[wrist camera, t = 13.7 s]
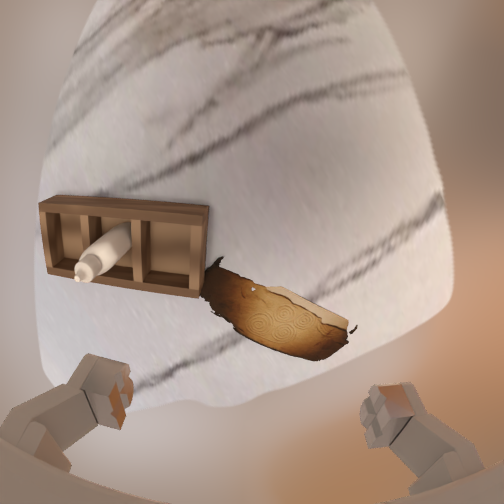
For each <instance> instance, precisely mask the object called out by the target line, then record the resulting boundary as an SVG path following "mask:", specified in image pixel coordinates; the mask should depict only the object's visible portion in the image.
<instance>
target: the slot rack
mask: <svg viewBox="0 0 504 504" xmlns="http://www.w3.org/2000/svg"><path fill="white" fill-rule="evenodd" d="M38 204H39V215H40V225H41V234H42V241H43V248H44V255H45V261H46V267H47V272H48V274H51V275H56V276H61V277H66V278H72V279H74V277H75V275H76V274H75V270H74V268H75V265H76V264H77V263H78V262H79V259H80V257H81V255H82V253H83V252H84V251H85V250H86V249H87V248H88V247H89V246H90V245H92V244H93V243H94V242H95V241H97V240H98V239H99V238H100V237H102V236H103V235H104V234H106V233H107V232H108V231H109V230H111V229H112V228H113V227H115V226H117V225H119V224H122V223H126V222H131V238H132V247H131V248H130V249H129V250H128V251H127V252H126V253H125V254H124V255H123V256H122V257H121V258H120V259H119V260H118V261H117V262H116V264H115V265H114V266H113V267H112V268H110V269H109V270H108V271H107V272H105V273H103V274H101V275H97V276H96V277H95V278H94V279H93V280H92V281H91V282H93V283H99V284H105V285H111V286H117V287H123V288H129V289H135V290H142V291H148V292H155V293H162V294H169V295H176V296H183V297H191V298H198V299H199V296H200V293H201V290H202V287H203V284H204V275H205V258H206V242H207V226H208V212H209V206H205V205H195V204H184V203H173V202H161V201H149V200H136V199H121V198H106V197H89V196H69V195H55V196H53V197H51V198H48V199H46V200H44V201H42V202H39V203H38Z"/></svg>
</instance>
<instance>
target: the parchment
mask: <svg viewBox="0 0 504 504" xmlns="http://www.w3.org/2000/svg"><path fill="white" fill-rule="evenodd" d="M223 258H224V257H221V258H219V259H218V260H217V261H215V262H214V264H213V265H212V267H210V268H208V269H207V270H206V271H205V275H204V284H203V287H202V290H201V293H200V295H201V296H200V297H202V298H204V299H205V301H208V302H210V303H209V304H210V306H211V308H212V309H213V311H215V313H214V314H215V315H217V316H219V317H223V318H224V319H225V320H226V321H227V322H229V323H232V324H233V326H234V327H235V328H234V327H233V329H234V330H235V331H236V332H238V333H239V334H241V335H243V336H245V337H246V338H248V339H250V340H252V341H254V342H256V343H258V344H260V345H263V346H265V347H267V348H270V349H272V350H275V351H279V352H281V353H284V354H287V355H290V356H294V357H299V358H303V359H307V360H310V361H318V360H319V361H320V360H324V359H326V358H328V357H330V356H331V355H332V354H333V353H335V352H337V351H338V350H339V349H340V348H342V347H343V346H344V345H346V344H348V343H349V341H348V340H346V339H347V337H348V335H347V334H348V333H347V326H348V320H347V319H345V318H342V317H340V316H338V315H336V314H334V313H332V312H330V311H328V310H326V309H324V308H321V307H319V306H317V305H316V304H313V303H312V302H310V301H308V300H306V299H304V298H302V297H300V296H298V295H297V294H294V293H293V292H291V291H289V290H287V289H285V288H284V287H282V286H280V287H265V286H262V285H259V284H255V283H254V282H253V281H252V280H250V279H247V278H245V277H240V276H239V274H236V273H233V272H231V271H229V270H226V269H224V268H221V267H219V265H220V264H219V263H221V260H222V259H223ZM252 287H253V288H255V289H256V290H254V291H252V290H251V289H252ZM211 312H212V311H211ZM212 313H213V312H212ZM219 314H220V315H219ZM357 326H358V325H356V327H355V329H353V330H351V331H350V332H349V333H350V334H352V333H353V332H354V331H355V330H356V329H357Z"/></svg>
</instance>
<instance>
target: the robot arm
mask: <svg viewBox="0 0 504 504" xmlns="http://www.w3.org/2000/svg"><path fill="white" fill-rule="evenodd" d="M130 372H131V371H130V367H129V364H126V363H123V362H119V361H115V360H111V359H107V358H104V357H99V356H96V355H92V354H89V353H88V354H86V355H85V356H84V357H83V359H82V360H81V362H80V363H79V365H78V367H77V368H76V370H75V371H74V373H73V375H72V376H71V378H70V379H69V381H68V383H67V384H66V385H65V384H61V385H59V386H57V387H55V388H53V389H51V390H49V391H47V392H45V393H43V394H41V395H39V396H37V397H35V398H33V399H31V400H29V401H27V402H24V403H22V404H21V405H18V406H16V407H14V408H12V409H11V411H10V413H9V414H8V416H7V417H6V419H5V420H4V422H3V424H2V425H1V427H0V504H170V503H165V502H160V501H155V500H151V499H147V498H143V497H139V496H135V495H132V494H128V493H124V492H121V491H118V490H115V489H111V488H108V487H105V486H102V485H99V484H96V483H94V482H91V481H88V480H85V479H83V478H80V477H78V476H75V475H73V474H70V473H69V471H70V469H71V466H72V465H71V463H70V461H69V460H68V458H67V457H66V456H65V455H64V453H63V451H64V450H66V449H67V448H68V447H70V446H71V445H72V444H74V443H75V442H77V441H78V440H79V439H81V438H82V437H83V436H85V435H86V434H87V433H89V432H90V431H91V430H93V429H94V428H95V427H97V426H98V424H100V425H103V426H107V427H110V428H114V429H118V430H121V427H122V425H123V422H124V420H125V417H126V413H125V410H124V409H125V408H127V407H129V406H130V404H131V401H132V398H133V392H134V387H133V381H132V380H131V379H130V377H129V374H130ZM369 395H370V396H369V397H368V398H366V399H365V400H364V402H363V403H362V405H361V409H360V420H361V424H362V425H363V426H364V427H365V428H366V429H367V430H366V432H365V438H366V442H367V445H368V448H379V447H388V446H390V447H389V448H390V449H391V450H392V451H393V452H394V453H395V454H396V455H397V456H398V457H399V458H400V459H401V460H402V461H403V462H404V464H406V466H407V467H408V468H409V469H410V470H411V471H412V472H413V473H414V474H415V475H416V476H417V477H418V479H417V480H416V481H415V482H414V483H413V484H411V485H410V487H409V492H410V496H407V497H403V498H399V499H395V500H391V501H386V502H382V503H377V504H504V460H502V461H500V462H498V463H496V464H494V465H492V466H490V467H487V468H484V466H483V463H482V461H481V459H480V457H479V455H478V452H477V450H476V448H475V446H474V444H473V443H472V442H470V441H469V440H467V439H466V438H465V437H463V436H462V435H460V434H459V433H458V432H456V431H455V430H453V429H452V428H450V427H449V426H448V425H446V424H445V423H443V422H442V421H440V420H439V419H438V418H436V417H435V416H434V415H432V414H427V411H426V409H425V407H424V405H423V403H422V401H421V399H420V397H419V395H418V393H417V391H416V389H415V387H414V385H413V384H412V383H411V382H406V383H393V384H379V385H373V386H372V387H371V388H370V390H369Z"/></svg>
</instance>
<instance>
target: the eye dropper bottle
mask: <svg viewBox="0 0 504 504" xmlns="http://www.w3.org/2000/svg"><path fill="white" fill-rule="evenodd" d="M131 247H132V238H131V222H126V223H122V224H119V225H117V226H115V227H113V228H112V229H111V230H109V231H108V232H107V233H106V234H104V235H103V236H102V237H100V238H99V239H98V240H97V241H95V242H94V243H93V244H92V245H90V246H89V247H88V248H87V249H86V250H85V251H84V252H83V253H82V255H81V257H80V259H79V262H78V263H77V264H76V265H75V268H74V270H75V274H76V275H75V277H74V279H75V281H76V282H80V281H82V282H84V283H89V282H91V281H92V280H93V279H94V278H95V277H96V276H97V275H101V274H103V273H105V272H107V271H108V270H109V269H110V268H112V267H113V266H114V265H115V264H116V262H117V261H118V260H119V259H120V258H121V257H122V256H123V255H124V254H125V253H126V252H127V251H128V250H129V249H130V248H131Z"/></svg>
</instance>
